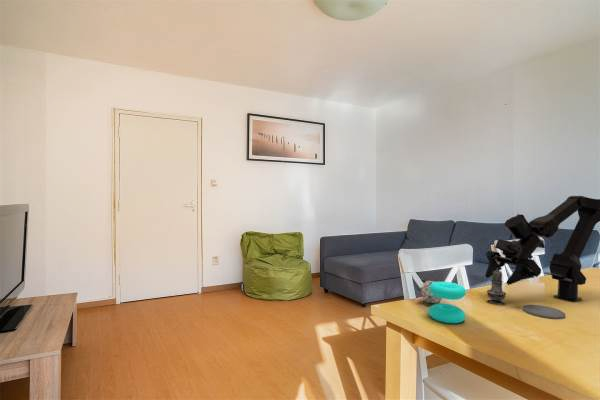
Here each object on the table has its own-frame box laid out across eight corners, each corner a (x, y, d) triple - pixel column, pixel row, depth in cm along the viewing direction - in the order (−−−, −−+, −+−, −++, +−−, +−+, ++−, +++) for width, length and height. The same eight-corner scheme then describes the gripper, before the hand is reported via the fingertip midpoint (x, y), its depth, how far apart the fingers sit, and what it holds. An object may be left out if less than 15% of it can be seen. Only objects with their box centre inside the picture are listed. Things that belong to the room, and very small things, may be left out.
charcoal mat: (532, 305, 115) (532, 302, 115) (571, 315, 106) (571, 312, 106) (515, 310, 109) (515, 307, 109) (555, 321, 100) (555, 318, 100)
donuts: (422, 282, 103) (445, 279, 107) (421, 315, 103) (444, 310, 108) (449, 291, 94) (473, 287, 98) (448, 327, 94) (472, 321, 99)
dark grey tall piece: (509, 306, 114) (510, 270, 113) (489, 304, 115) (490, 269, 115) (502, 300, 119) (503, 266, 119) (484, 299, 121) (485, 265, 120)
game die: (432, 316, 113) (429, 297, 107) (414, 300, 120) (411, 281, 114) (453, 302, 114) (451, 282, 109) (434, 287, 121) (431, 267, 116)
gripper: (490, 228, 127) (463, 258, 125) (535, 234, 109) (505, 270, 106) (507, 249, 129) (481, 279, 127) (554, 259, 111) (524, 294, 108)
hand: (496, 280), depth 117 cm, fingers open, 9 cm apart
